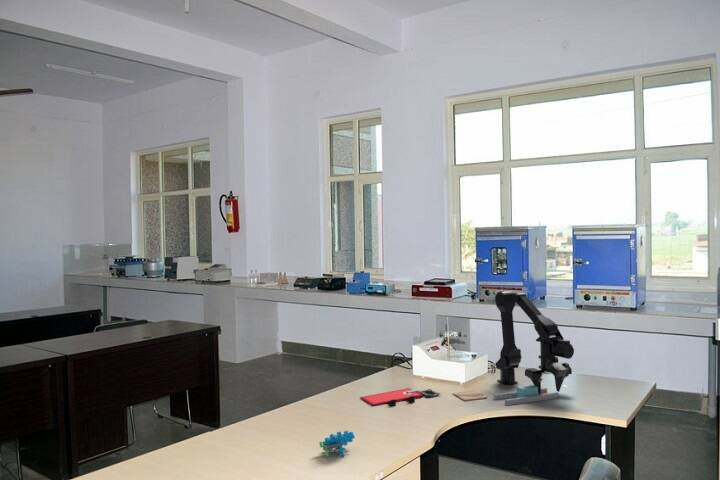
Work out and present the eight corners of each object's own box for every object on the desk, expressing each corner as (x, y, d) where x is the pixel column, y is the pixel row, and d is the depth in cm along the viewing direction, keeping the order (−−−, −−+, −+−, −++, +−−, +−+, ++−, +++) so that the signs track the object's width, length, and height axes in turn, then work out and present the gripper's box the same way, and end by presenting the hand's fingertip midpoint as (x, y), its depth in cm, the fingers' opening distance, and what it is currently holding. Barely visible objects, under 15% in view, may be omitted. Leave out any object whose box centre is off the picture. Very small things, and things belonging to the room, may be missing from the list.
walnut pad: (452, 394, 223) (452, 393, 223) (474, 391, 226) (474, 390, 226) (464, 401, 213) (464, 400, 213) (487, 398, 217) (487, 397, 217)
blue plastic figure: (353, 439, 173) (354, 425, 165) (358, 457, 169) (359, 444, 161) (318, 448, 170) (318, 434, 163) (323, 466, 166) (322, 453, 159)
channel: (494, 399, 215) (494, 394, 215) (545, 391, 223) (545, 387, 223) (506, 405, 208) (506, 400, 207) (558, 397, 215) (558, 393, 215)
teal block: (517, 398, 216) (516, 386, 216) (531, 395, 219) (531, 384, 219) (523, 400, 212) (523, 389, 212) (538, 398, 215) (537, 387, 215)
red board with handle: (443, 397, 219) (423, 388, 233) (443, 390, 219) (423, 382, 233) (377, 410, 206) (360, 400, 220) (377, 403, 206) (360, 393, 220)
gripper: (541, 360, 208) (542, 401, 208) (581, 355, 214) (581, 395, 214) (523, 354, 218) (524, 393, 219) (562, 350, 224) (562, 388, 225)
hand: (548, 392), depth 219 cm, fingers open, 9 cm apart
